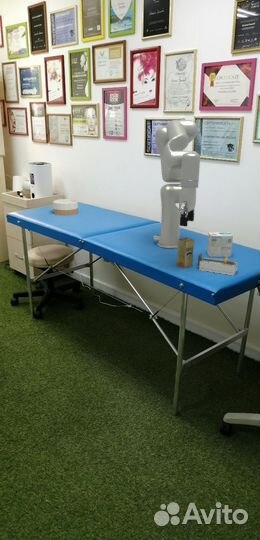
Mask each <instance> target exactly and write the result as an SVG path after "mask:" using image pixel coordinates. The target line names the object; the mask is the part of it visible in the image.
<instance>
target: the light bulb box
mask: <svg viewBox="0 0 260 540" xmlns="http://www.w3.org/2000/svg"><path fill="white" fill-rule="evenodd" d="M233 237H234V235H233V234H232V233H231V232H230V231H226V232H225V231H224V232H222V231H221V232H219V231H217V232H215V231H214V232H208V236H207V251H206V252H207V253H206V254H207V255H208V256H209V257H208V258H225V257H226V256H228V258H230V257H232V249H233V240H234V239H233Z"/></svg>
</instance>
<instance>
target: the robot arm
mask: <svg viewBox="0 0 260 540" xmlns="http://www.w3.org/2000/svg"><path fill="white" fill-rule="evenodd" d="M197 134H198V126H197V123H196V122H195V121H194V120H193V119H173V120H170V121H169V122H168V123H167V124H166V126H161V127H159V128H157V129H156V131H155V135H154V139H155V141H154V142H155V145H156V149H157V151H158V154H159V158H160V168H161V177H162V180H163V182H165V183H167V184H164V185H163V186H162V187H161V188H160V191H159V192H160V193H159V194H160V201H161V203H160V204H161V205H160V206H161V217H160V218H161V221H160V235H153V237H152V238H153V241H157V246H158V247H160V248H162V249H178V239H180V227H188V222H194V220H195V208H196V202H197V189H198V188H199V184H200V183H199V180H200V168H201V167H200V165H201V155H200V154H199V153H198V152H197V151H195V150H185V149H187V147H188V146H189V144H190V143H191V142H192V141H194V139H195V138H196V136H197ZM176 204H178V206H177V205H176Z"/></svg>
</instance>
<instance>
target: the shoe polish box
mask: <svg viewBox="0 0 260 540" xmlns="http://www.w3.org/2000/svg"><path fill="white" fill-rule="evenodd" d="M194 245H195V240H194V239H192V238H190V237H182V238H179V239H178V248H177V252H176V253H177V254H176V266H178V267H181V268H183V267H184V268H183V269H185V268H189V267H193V265H194V263H193V262H194V248H195V246H194Z"/></svg>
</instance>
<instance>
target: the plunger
mask: <svg viewBox="0 0 260 540" xmlns="http://www.w3.org/2000/svg"><path fill="white" fill-rule="evenodd" d="M224 260H225V261H224V264H228V261H229V257H228V256H226V257H224ZM200 261H207V262H216V261H209V260H203V253H199V254H198V257H197V266H198V267H200ZM217 263H223V262H217Z"/></svg>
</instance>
